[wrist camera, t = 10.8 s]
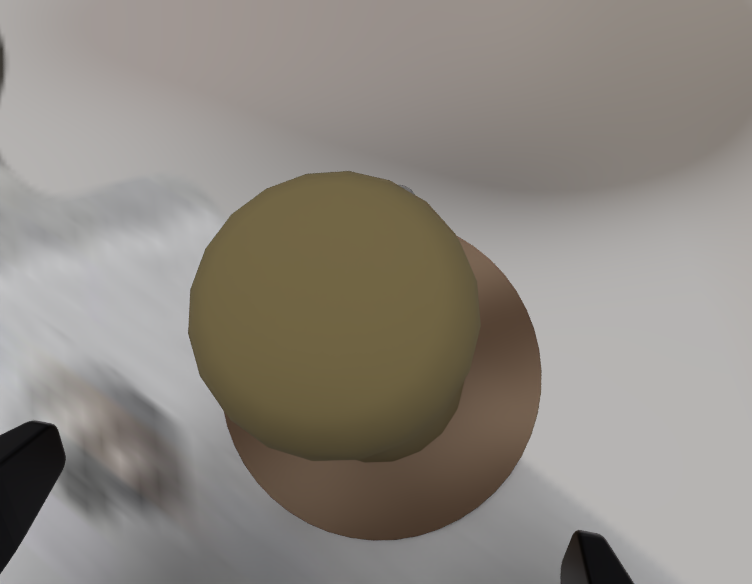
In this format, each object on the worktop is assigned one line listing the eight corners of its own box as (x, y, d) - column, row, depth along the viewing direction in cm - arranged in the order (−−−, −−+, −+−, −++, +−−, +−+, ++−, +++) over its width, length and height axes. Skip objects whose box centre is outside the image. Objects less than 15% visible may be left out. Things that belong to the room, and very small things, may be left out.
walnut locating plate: (600, 434, 19) (650, 434, 15) (311, 599, 18) (278, 647, 14) (437, 176, 22) (440, 115, 18) (181, 312, 21) (123, 281, 17)
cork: (258, 415, 19) (57, 387, 9) (335, 259, 20) (241, 67, 10) (420, 495, 18) (420, 578, 8) (491, 327, 19) (578, 193, 9)
